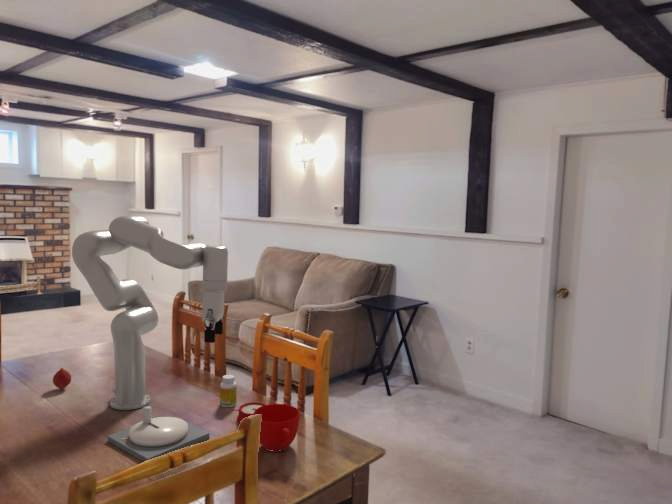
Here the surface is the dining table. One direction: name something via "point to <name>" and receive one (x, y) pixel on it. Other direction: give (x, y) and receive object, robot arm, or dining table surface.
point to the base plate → (148, 453)
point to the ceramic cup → (278, 425)
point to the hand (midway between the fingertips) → (213, 338)
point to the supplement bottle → (228, 391)
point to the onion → (62, 379)
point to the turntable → (157, 430)
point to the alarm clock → (247, 410)
